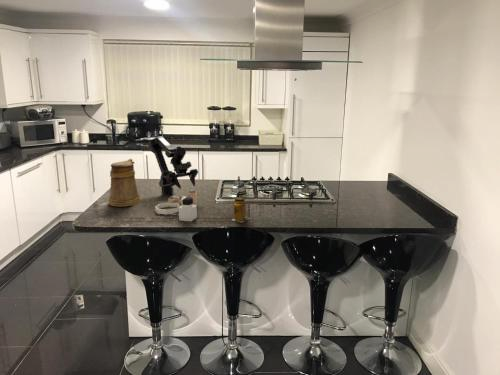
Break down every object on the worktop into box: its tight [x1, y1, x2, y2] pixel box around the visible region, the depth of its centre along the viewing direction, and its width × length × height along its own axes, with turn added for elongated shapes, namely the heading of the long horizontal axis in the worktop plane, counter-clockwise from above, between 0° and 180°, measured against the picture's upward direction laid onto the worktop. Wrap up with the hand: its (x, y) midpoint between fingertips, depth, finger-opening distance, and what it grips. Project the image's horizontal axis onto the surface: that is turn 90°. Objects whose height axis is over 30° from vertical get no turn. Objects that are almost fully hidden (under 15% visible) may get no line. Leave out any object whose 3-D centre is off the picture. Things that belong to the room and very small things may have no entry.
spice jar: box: [188, 189, 198, 209], centre depth 246 cm, size 4×4×11 cm
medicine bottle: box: [178, 196, 198, 223], centre depth 228 cm, size 7×7×12 cm
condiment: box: [231, 196, 252, 223], centre depth 227 cm, size 7×8×12 cm
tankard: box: [108, 158, 141, 207], centre depth 257 cm, size 18×24×25 cm
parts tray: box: [167, 195, 183, 205], centre depth 258 cm, size 10×8×3 cm
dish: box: [154, 201, 182, 215], centre depth 242 cm, size 13×13×3 cm
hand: (187, 187), depth 248 cm, fingers open, 9 cm apart
